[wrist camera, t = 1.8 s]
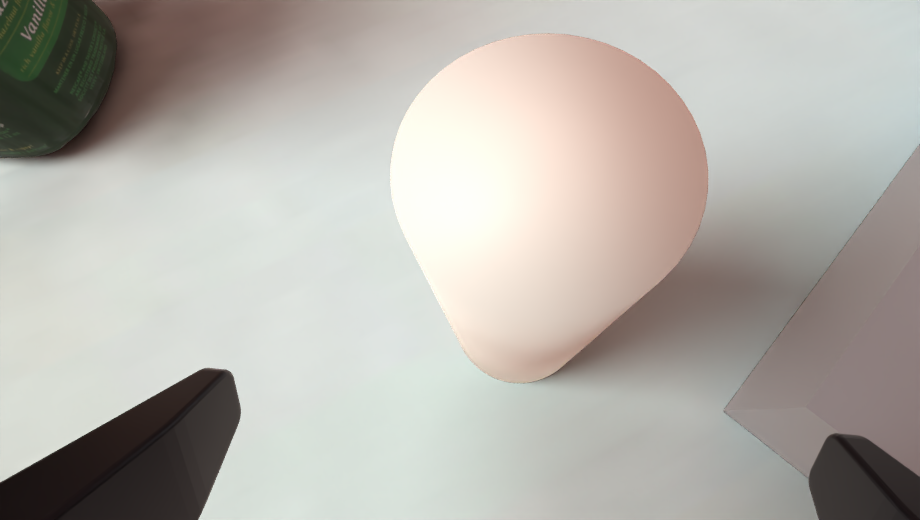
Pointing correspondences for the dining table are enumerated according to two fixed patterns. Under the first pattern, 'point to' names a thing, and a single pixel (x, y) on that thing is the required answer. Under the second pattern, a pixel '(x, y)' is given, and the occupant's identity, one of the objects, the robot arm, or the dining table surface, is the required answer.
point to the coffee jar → (51, 72)
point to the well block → (849, 345)
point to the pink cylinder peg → (545, 194)
